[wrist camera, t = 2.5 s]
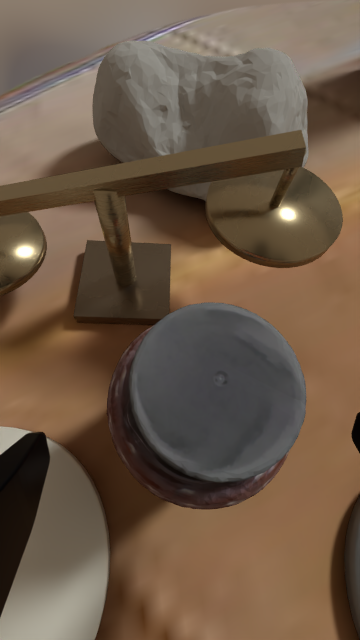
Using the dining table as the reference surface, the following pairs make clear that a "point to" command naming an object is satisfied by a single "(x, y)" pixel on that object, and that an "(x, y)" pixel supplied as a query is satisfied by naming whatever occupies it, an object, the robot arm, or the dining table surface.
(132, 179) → the balance
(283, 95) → the decorative stone
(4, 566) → the robot arm
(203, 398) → the supplement bottle
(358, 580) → the slate dish
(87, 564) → the cream dish
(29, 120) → the dining table surface
